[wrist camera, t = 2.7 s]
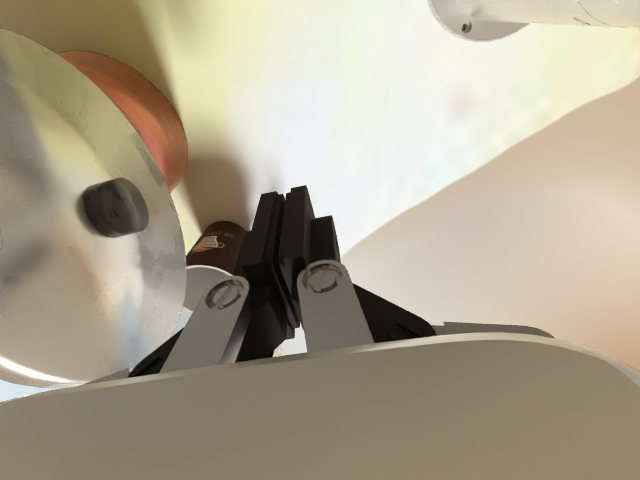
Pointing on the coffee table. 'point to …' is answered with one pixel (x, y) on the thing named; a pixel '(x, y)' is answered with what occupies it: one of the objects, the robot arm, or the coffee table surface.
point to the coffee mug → (211, 259)
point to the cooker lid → (78, 228)
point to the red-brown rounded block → (139, 110)
